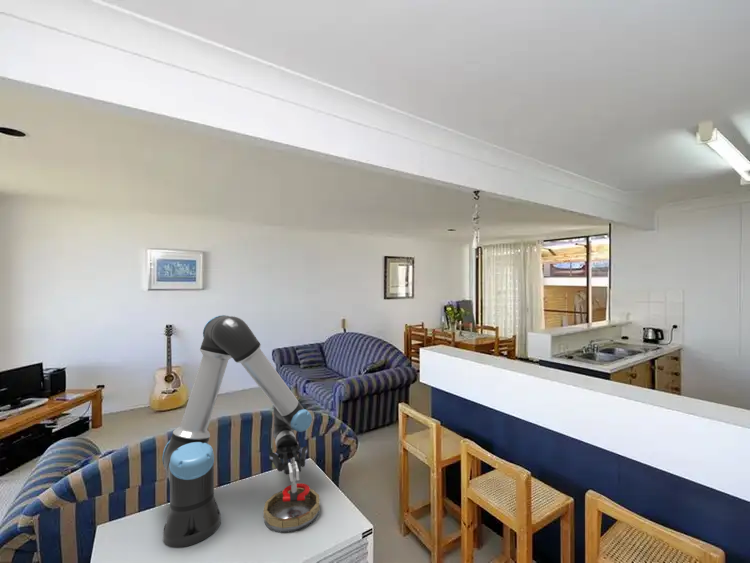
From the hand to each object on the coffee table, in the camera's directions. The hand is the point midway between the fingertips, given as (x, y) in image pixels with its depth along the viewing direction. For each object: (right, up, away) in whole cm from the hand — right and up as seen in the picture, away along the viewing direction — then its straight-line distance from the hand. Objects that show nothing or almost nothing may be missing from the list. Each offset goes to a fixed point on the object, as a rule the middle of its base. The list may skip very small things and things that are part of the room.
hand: (294, 476), depth 103 cm
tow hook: (-1, -9, +5) cm, 10 cm away
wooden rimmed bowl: (-2, -15, +4) cm, 15 cm away
